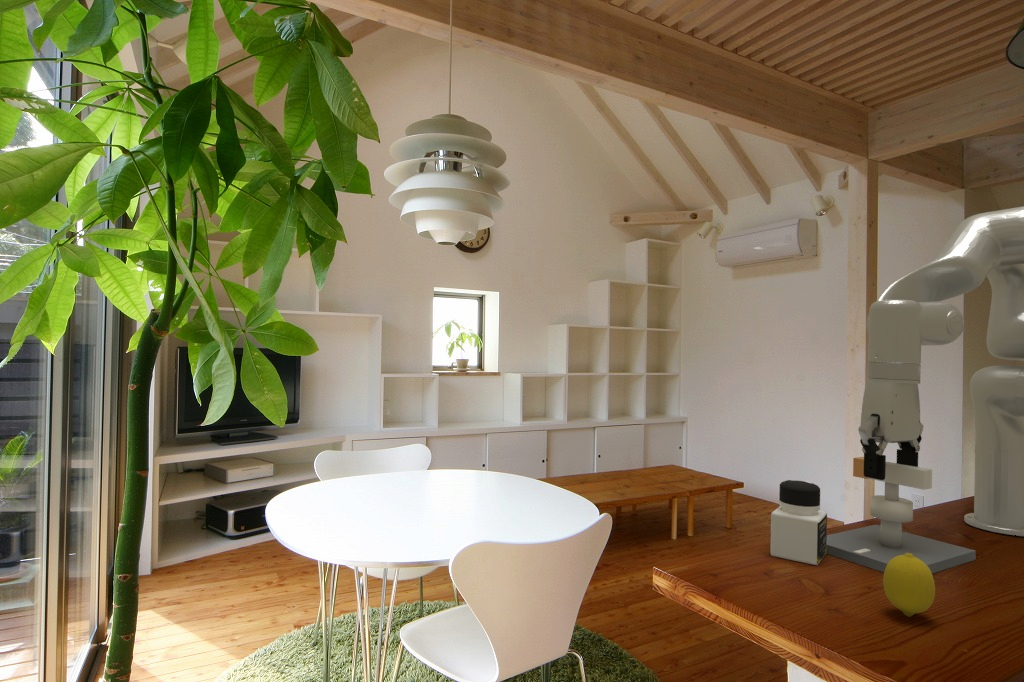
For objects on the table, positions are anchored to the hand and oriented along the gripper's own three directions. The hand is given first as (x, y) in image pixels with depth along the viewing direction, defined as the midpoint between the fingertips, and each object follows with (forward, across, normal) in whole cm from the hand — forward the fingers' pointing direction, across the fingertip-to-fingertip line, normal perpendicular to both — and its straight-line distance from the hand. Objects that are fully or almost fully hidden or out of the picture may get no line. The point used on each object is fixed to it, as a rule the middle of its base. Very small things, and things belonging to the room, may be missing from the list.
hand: (890, 476), depth 100 cm
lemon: (+14, +22, +14) cm, 30 cm away
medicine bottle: (+13, +14, -6) cm, 21 cm away
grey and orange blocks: (+7, 0, 0) cm, 7 cm away
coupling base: (+13, 0, 0) cm, 13 cm away
